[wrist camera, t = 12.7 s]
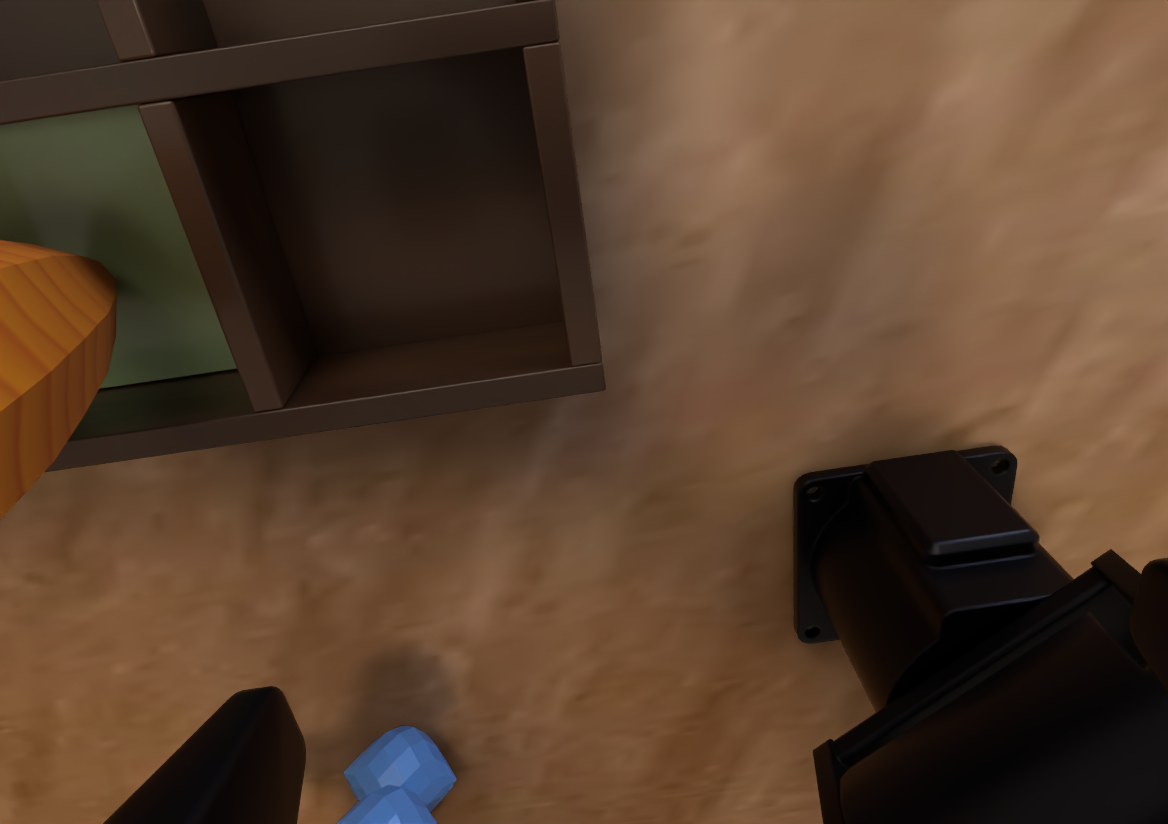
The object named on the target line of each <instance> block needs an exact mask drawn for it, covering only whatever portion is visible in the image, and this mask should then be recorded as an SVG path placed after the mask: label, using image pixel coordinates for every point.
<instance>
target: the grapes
mask: <svg viewBox="0 0 1168 824" xmlns="http://www.w3.org/2000/svg"><path fill="white" fill-rule="evenodd" d="M343 773H344V775H345V777H346V779H347V782H348V784H349V786H350V788H351V790H352V792H353V793H354V795H355V796H356V798H357V800H358V801H359V802H358V803H356V804H355V805H354V806H353V807H352V808H351V809H350V810H349V811H348V812H347V813H346V814H345V815H344V816H343V817H342V818H341V819H340V820H339V821H338V822H337V823H336V824H438V823H437V822H436V821H435V819H434V818H433V816H432V815H431V813H430V812H431V811H432V810H433V809H434V808H435V807H436V806H437V804H438V803H439V802H440V801H441V800H442V799H443V798H444V797H445V795H446V794H447V793H448V792H449V791H450V790H451V789H452V787H453V784H454V783H455V781H456V780H457V779H456V777H455V775H454V773H453V772H452V770H451V768H450V766H449V764H448V763H447V761H446V759H445V758H444V756H443V755H442V753H441V752H440V750H439V749H438V748H437V746H436V745H435V744H434V742H433V741H432V740H431V739H430V738H429V736H428V735H427V734H426V733H425V732H423V731H421V730H419V729H417V728H415V727H410V726H400V727H397V728H395V729H392V730H390V731H387V732H386V733H385V734H383V735H382V736H381V737H379V738H378V739H377V740H375V741H374V742H373V743H372V744H371V745H370V746H369V747H368V748H367V749H365V750H364V751H363V752H362V753H361V754H360V755H359V756H358V757H357V758H356V759H355V760H354V761H353V762H352V764H351V765H350V766H349V767H348V768H347V769H346V770H345V771H344V772H343Z"/></svg>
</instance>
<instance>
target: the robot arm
mask: <svg viewBox="0 0 1168 824" xmlns="http://www.w3.org/2000/svg"><path fill="white" fill-rule="evenodd" d="M999 460H1001V461H1000V463H999V464H998V465H997V466H994V467H992V466H993V464H994V463H995V462H996V461H999ZM1016 469H1017V459H1016V457H1015V456H1014V455H1013V454H1012V453H1011V452H1010V451H1009V450H1008V449H1007V448H1005V447H1003V446H989V447H982V448H975V449H968V450H961V451H954V450H950V451H943V452H936V453H929V454H922V455H915V456H908V457H901V458H894V459H887V460H880V461H874V462H872V463H870V464H865V465H858V466H851V467H844V468H837V469H830V470H823V471H816V472H810V473H807V474H804V475H802V476H801V477H799V478H798V479H797V481H796V482H795V484H794V489H793V506H794V628H795V631H796V633H797V636H798V638H799V639H800V640H801V641H802V642H804V643H819V642H826V641H833V640H840V641H841V643H842V645H843V647H844V649H845V651H846V653H847V655H848V657H849V659H850V661H851V663H852V665H853V667H854V669H855V671H856V673H857V675H858V677H859V679H860V681H861V683H862V685H863V687H864V689H865V691H866V693H867V695H868V697H869V700H870V702H871V704H872V706H873V708H874V710H875V712H876V713H875V714H873V715H872V716H870V717H869V718H867V719H866V720H864V721H863V722H861V723H860V724H858V725H857V726H855V727H854V728H853V729H851V730H850V731H848V732H847V733H845V734H844V735H842V736H841V737H839V738H838V739H836V740H835V741H833V740H831V739H829V740H827V741H826V742H824V743H823V744H822V745H820V746H819V747H817V748H816V749H814V750H813V756H814V763H815V770H816V776H817V783H818V790H819V797H820V804H821V811H822V818H823V824H1168V558H1163V559H1156V560H1153V561H1150V562H1149V563H1148V564H1147V565H1146V566H1145V567H1144V569H1143V571H1142V574H1140V573H1139V572H1138V571H1137V570H1135V569H1134V568H1133V567H1132V566H1131V565H1129V564H1128V563H1127V562H1126V561H1125V560H1123V559H1122V558H1121V557H1120V556H1119V555H1118V554H1116V553H1115V552H1114V551H1113V550H1112V549H1110V550H1109V551H1107V552H1106V553H1104V554H1103V555H1101V556H1100V557H1098V558H1097V559H1095V560H1094V561H1092V562H1091V564H1092V566H1093V567H1092V568H1090V569H1089V570H1087V571H1086V572H1084V573H1083V574H1081V575H1080V576H1078V577H1077V578H1075V579H1073V578H1072V577H1071V576H1070V575H1069V574H1068V573H1067V572H1066V571H1065V570H1064V569H1063V568H1062V567H1061V565H1060V564H1059V563H1058V562H1057V561H1056V560H1055V559H1054V558H1053V557H1052V556H1051V555H1050V554H1049V553H1048V552H1047V551H1046V550H1045V549H1044V548H1043V547H1042V546H1041V545H1040V544H1039V543H1038V542H1039V535H1038V533H1037V532H1036V531H1035V530H1034V529H1033V528H1032V527H1031V526H1030V525H1029V524H1028V523H1027V522H1026V521H1025V520H1024V519H1023V518H1022V517H1021V516H1020V514H1019V513H1018V512H1017V511H1016V510H1015V509H1014V508H1013V507H1012V506H1011V500H1012V494H1013V488H1014V482H1015V475H1016ZM812 487H818V489H817V490H816V491H815V492H813V493H810V494H809V493H807V491H808V490H809V489H810V488H812ZM812 626H814V627H813V628H811V629H808V628H809V627H812ZM305 762H306V748H305V742H304V738H303V735H302V733H301V731H300V728H299V726H298V724H297V722H296V720H295V717H294V715H293V713H292V711H291V708H290V706H289V704H288V702H287V700H286V697H285V695H284V694H283V692H282V691H281V690H280V689H279V688H277V687H273V686H269V687H262V688H255V689H248V690H242V691H239V692H237V693H235V694H234V695H233V696H231V697H230V698H229V699H228V700H227V701H226V702H225V703H224V704H223V705H222V706H221V707H220V708H219V709H218V710H217V711H216V712H215V713H214V714H213V715H212V716H211V717H210V718H209V719H208V720H207V721H206V722H205V723H204V724H203V725H202V726H201V727H200V728H199V729H198V730H197V731H196V732H195V733H194V734H193V735H192V736H191V737H190V738H189V739H188V740H187V741H186V742H185V743H184V744H183V745H182V746H181V747H180V748H179V749H178V750H177V751H176V752H175V753H174V754H173V755H172V756H171V757H170V758H169V759H168V760H167V761H166V762H165V763H164V764H163V765H162V766H161V767H160V768H159V769H158V770H157V771H156V772H155V773H154V774H153V775H152V776H151V777H150V778H149V779H148V780H147V781H146V782H145V783H144V784H143V785H142V786H141V787H140V788H139V789H138V790H137V791H136V792H135V793H133V794H132V795H131V796H130V797H129V798H128V799H127V800H126V801H125V802H124V803H123V804H122V805H121V806H120V807H119V808H118V809H117V810H116V811H115V812H114V813H113V814H112V815H111V816H110V817H109V818H108V819H107V820H106V821H105V822H104V823H103V824H297V819H298V812H299V805H300V798H301V791H302V784H303V777H304V770H305Z"/></svg>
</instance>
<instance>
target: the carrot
mask: <svg viewBox="0 0 1168 824" xmlns="http://www.w3.org/2000/svg"><path fill="white" fill-rule="evenodd" d="M116 304H117V292H116V279H115V278H114V277H113V276H112V275H111V273H110V272H109V271H108V270H107V269H106V268H105V267H104V266H103V265H102V263H101V262H98V261H95V260H92V259H89V258H86V257H83V256H80V255H76V254H72V253H68V252H63V251H59V250H55V249H51V248H46V247H42V246H38V245H34V244H29V243H21V242H13V241H5V240H0V519H1V518H2V517H3V516H4V515H5V514H6V513H7V512H8V511H9V510H10V509H11V508H12V506H13V505H14V504H15V503H16V502H17V501H18V500H19V499H20V498H21V497H22V496H23V495H24V493H25V492H26V491H27V490H28V489H29V488H30V487H31V486H32V485H33V484H34V483H35V482H36V480H37V479H38V478H39V477H40V476H41V475H42V474H43V473H44V472H45V471H46V470H47V469H48V467H49V466H50V465H51V464H52V463H53V462H54V461H55V459H56V458H57V456H58V455H59V453H60V452H61V450H62V449H63V447H64V445H65V444H66V442H67V441H68V439H69V438H70V436H71V435H72V433H73V432H74V430H75V429H76V427H77V426H78V424H79V423H80V421H81V420H82V418H83V416H84V415H85V413H86V411H87V410H88V408H89V406H90V404H91V402H92V401H93V399H94V397H95V395H96V393H97V392H98V390H99V388H100V386H101V384H102V383H103V381H104V379H105V377H106V376H107V374H108V370H109V365H110V361H111V357H112V352H113V348H114V343H115V339H116Z"/></svg>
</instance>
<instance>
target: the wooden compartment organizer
mask: <svg viewBox="0 0 1168 824" xmlns="http://www.w3.org/2000/svg"><path fill="white" fill-rule="evenodd" d="M559 38H560V37H559V30H558V22H557V15H556V7H555V0H0V240H5V241H13V242H21V243H29V244H34V245H38V246H42V247H46V248H51V249H55V250H59V251H63V252H68V253H72V254H76V255H80V256H83V257H86V258H89V259H92V260H95V261H98V262H101V263H102V265H103V266H104V267H105V268H106V269H107V270H108V271H109V272H110V273H111V275H112V276H113V277H114V278H115V279H116V292H117V304H116V339H115V343H114V348H113V352H112V357H111V361H110V365H109V370H108V374H107V376H106V377H105V379H104V381H103V383H102V384H101V386H100V388H99V390H98V392H97V393H96V395H95V397H94V399H93V401H92V402H91V404H90V406H89V408H88V410H87V411H86V413H85V415H84V416H83V418H82V420H81V421H80V423H79V424H78V426H77V427H76V429H75V430H74V432H73V433H72V435H71V436H70V438H69V439H68V441H67V442H66V444H65V445H64V447H63V449H62V450H61V452H60V453H59V455H58V456H57V458H56V459H55V461H54V462H53V463H52V464H51V465H50V466H49V467H48V469H47V470H46V471H45V472H50V471H57V470H64V469H71V468H77V467H84V466H91V465H98V464H105V463H112V462H119V461H125V460H132V459H139V458H146V457H153V456H160V455H166V454H173V453H180V452H187V451H194V450H201V449H208V448H214V447H221V446H228V445H235V444H242V443H249V442H255V441H262V440H269V439H276V438H283V437H290V436H297V435H303V434H310V433H317V432H324V431H331V430H338V429H345V428H351V427H358V426H365V425H372V424H379V423H386V422H392V421H399V420H406V419H413V418H420V417H427V416H434V415H440V414H447V413H454V412H461V411H468V410H475V409H481V408H488V407H495V406H502V405H509V404H516V403H523V402H529V401H536V400H543V399H550V398H557V397H564V396H571V395H577V394H584V393H591V392H598V391H604V390H606V384H605V376H604V369H603V362H602V354H601V346H600V339H599V331H598V324H597V316H596V309H595V301H594V294H593V286H592V278H591V271H590V263H589V256H588V248H587V241H586V233H585V226H584V218H583V211H582V203H581V196H580V188H579V181H578V173H577V165H576V158H575V150H574V143H573V135H572V128H571V120H570V113H569V105H568V98H567V90H566V83H565V75H564V68H563V60H562V52H561V45H560V43H559V42H558V41H559Z"/></svg>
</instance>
